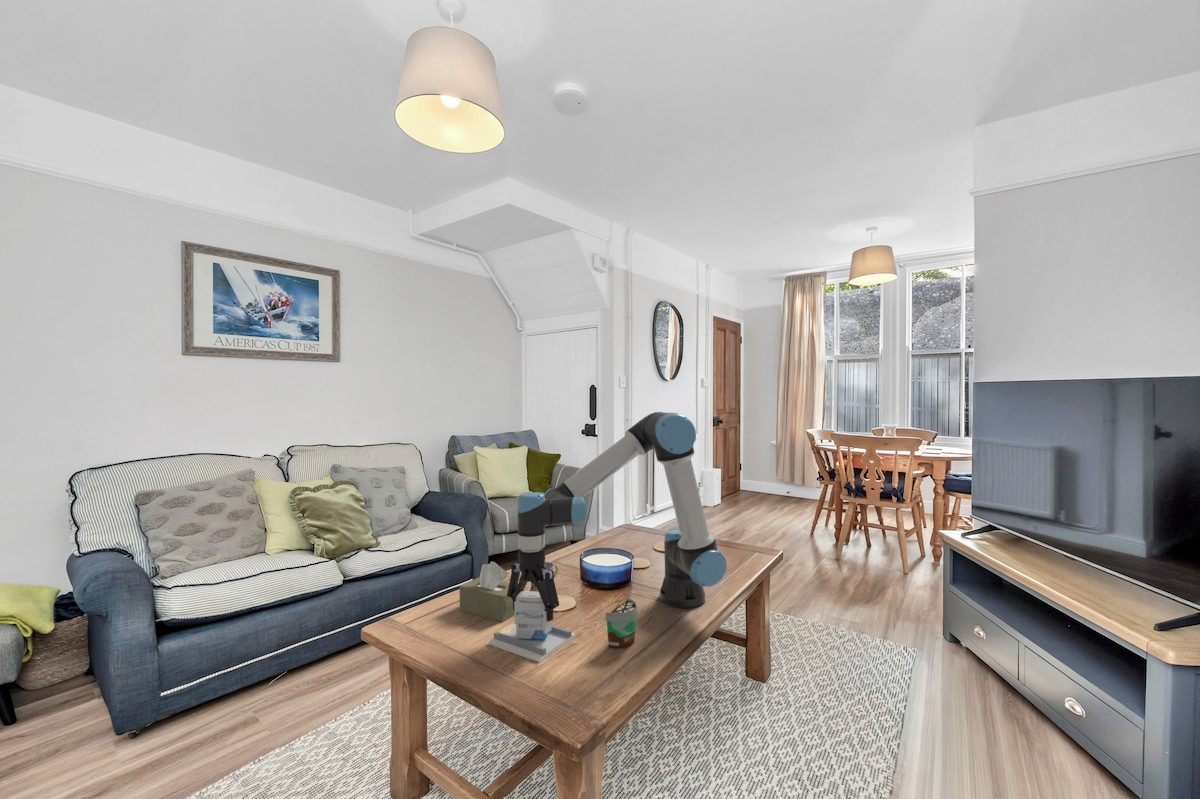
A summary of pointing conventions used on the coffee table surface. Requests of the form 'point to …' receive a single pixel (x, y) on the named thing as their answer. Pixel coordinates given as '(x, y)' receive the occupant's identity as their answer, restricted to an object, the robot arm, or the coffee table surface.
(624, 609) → the food container
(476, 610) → the tissue box
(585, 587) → the coffee table surface
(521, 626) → the ink box
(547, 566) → the mug
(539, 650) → the rail mount
